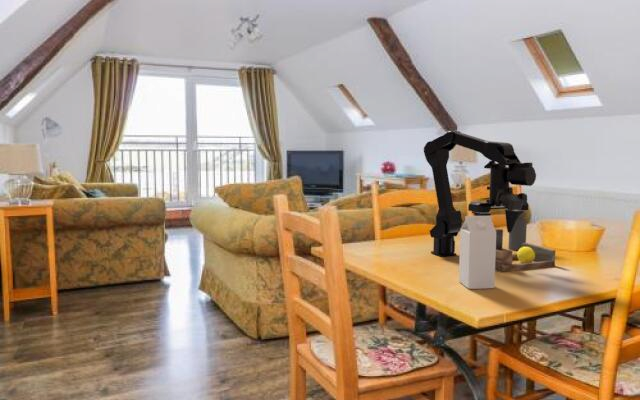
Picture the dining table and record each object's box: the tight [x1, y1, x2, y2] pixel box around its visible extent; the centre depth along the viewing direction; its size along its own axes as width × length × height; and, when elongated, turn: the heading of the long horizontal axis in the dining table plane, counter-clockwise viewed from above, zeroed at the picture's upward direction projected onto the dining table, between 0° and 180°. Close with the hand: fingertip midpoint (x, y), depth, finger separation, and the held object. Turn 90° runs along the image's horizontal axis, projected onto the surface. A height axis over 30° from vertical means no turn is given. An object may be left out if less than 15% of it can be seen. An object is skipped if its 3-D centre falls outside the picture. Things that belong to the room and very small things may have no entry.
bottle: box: [507, 210, 528, 252], centre depth 182 cm, size 6×6×15 cm
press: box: [495, 242, 556, 273], centre depth 160 cm, size 21×13×5 cm, turn 110°
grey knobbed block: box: [495, 228, 513, 265], centre depth 157 cm, size 4×9×11 cm, turn 20°
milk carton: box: [458, 215, 496, 290], centre depth 135 cm, size 7×7×19 cm
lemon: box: [516, 247, 535, 263], centre depth 161 cm, size 7×5×5 cm
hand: (497, 233), depth 157 cm, fingers open, 9 cm apart
